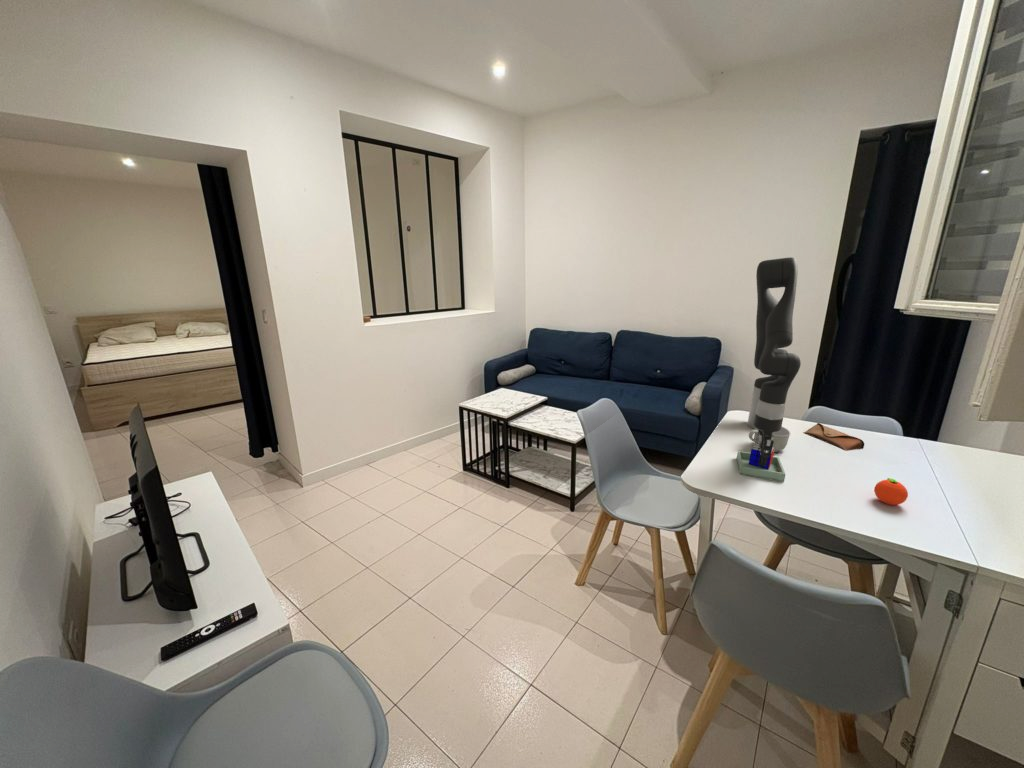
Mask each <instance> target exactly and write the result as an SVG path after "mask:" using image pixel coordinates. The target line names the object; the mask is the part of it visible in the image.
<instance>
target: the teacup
mask: <svg viewBox="0 0 1024 768" xmlns="http://www.w3.org/2000/svg"><path fill="white" fill-rule="evenodd" d="M757 432H758V428H756V429H752V430H750V431H749V432H748V438H749V440H750V441H752V442H753V443H754V444H755V443H757V441H756V438H757ZM772 436H774V438H773V441H774V443H773V448H775V449H774V453H776V452H780V451H782V450H784V449H785V448H786V447H787V445H788V443H789V439H790V436H791V431H790V430H789V429H788V428H786V427H784V426H782V427H781V430H780V431H778V432H773V433H772Z"/></svg>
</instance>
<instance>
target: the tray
mask: <svg viewBox="0 0 1024 768" xmlns="http://www.w3.org/2000/svg"><path fill="white" fill-rule="evenodd" d="M750 454H751V452H748V451H742V450H737V454H736V461H737V467H738V471H739V475H742V476H746V477H747V476H748V477H753V478H758V479H759V478H760V479H764V480H769V481H770V480H771V481H776V482H780V483H781V482H782V483H784V482H785V479H786V475H787V474H786V472H785V470H784V467H783V464H782V462H781V460H780V457H779V456H774V455H773V459H772V463H771V465H770V467H769V470H767V469H764V468H760V467H756V466H753V465H749V459H750Z"/></svg>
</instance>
